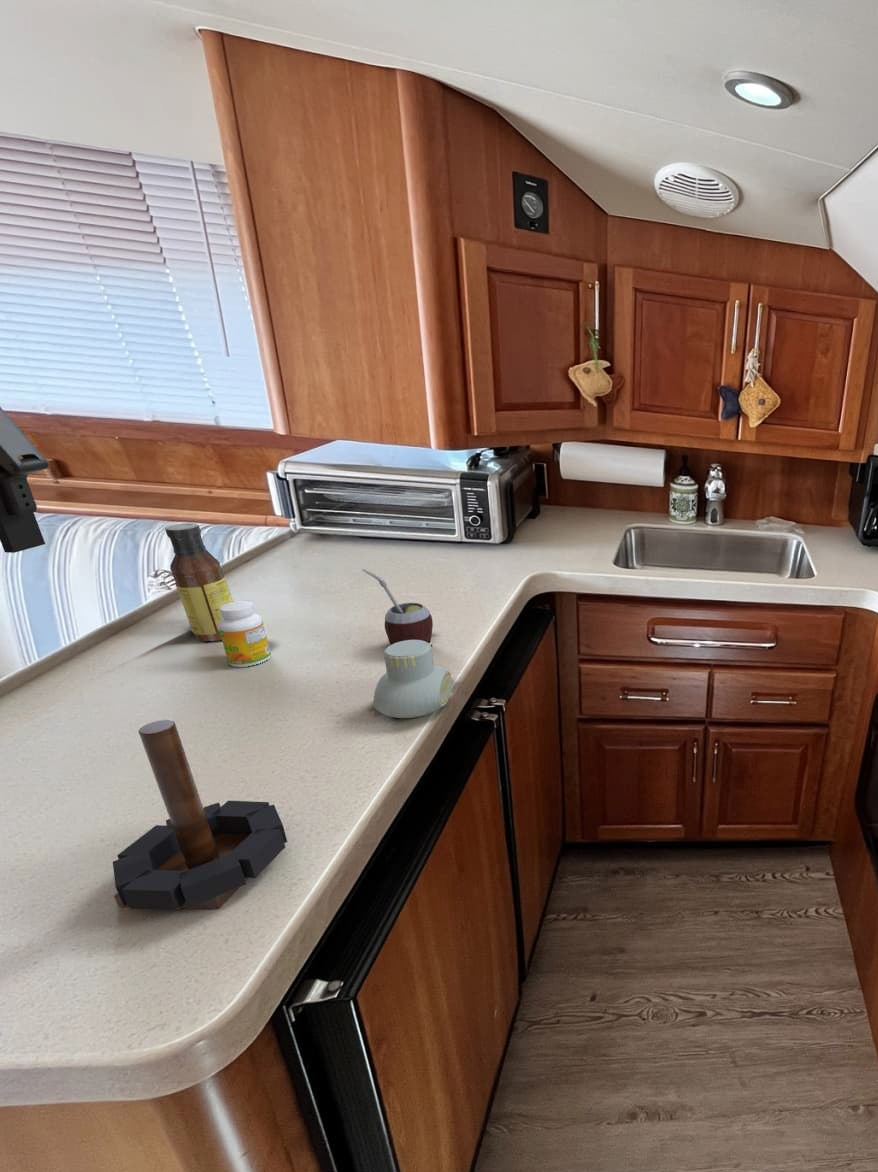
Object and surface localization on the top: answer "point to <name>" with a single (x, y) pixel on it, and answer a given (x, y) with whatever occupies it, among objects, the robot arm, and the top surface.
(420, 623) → the mate gourd
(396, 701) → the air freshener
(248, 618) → the supplement bottle
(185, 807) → the stand
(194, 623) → the sauce bottle
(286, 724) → the top surface
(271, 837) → the ring
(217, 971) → the top surface
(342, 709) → the top surface
